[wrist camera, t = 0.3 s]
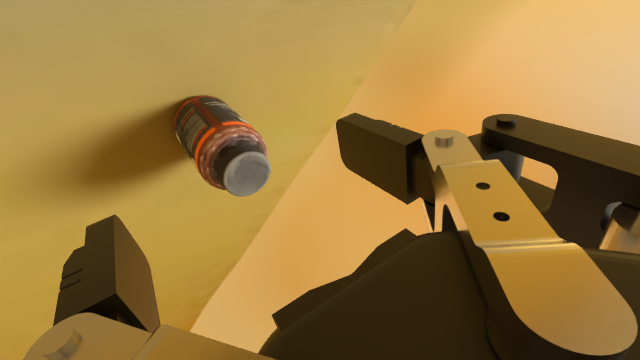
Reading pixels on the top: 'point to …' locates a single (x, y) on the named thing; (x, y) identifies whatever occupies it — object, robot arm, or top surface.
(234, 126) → the supplement bottle
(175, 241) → the top surface
